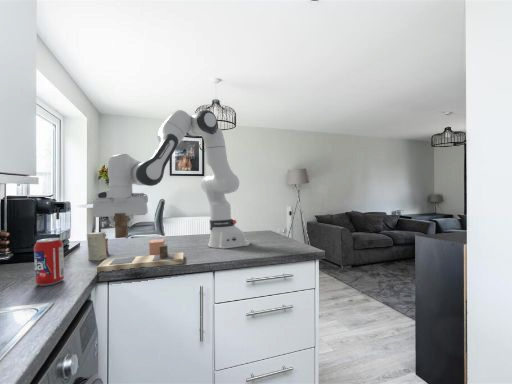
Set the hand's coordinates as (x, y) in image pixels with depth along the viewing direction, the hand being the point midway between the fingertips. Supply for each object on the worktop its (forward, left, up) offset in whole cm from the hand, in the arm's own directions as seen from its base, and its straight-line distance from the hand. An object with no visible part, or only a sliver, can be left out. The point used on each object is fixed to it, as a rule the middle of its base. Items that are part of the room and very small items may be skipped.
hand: (121, 227), depth 109 cm
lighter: (+16, -26, -16) cm, 35 cm away
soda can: (+20, +14, -16) cm, 29 cm away
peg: (0, 0, -4) cm, 4 cm away
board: (-8, 0, -16) cm, 18 cm away
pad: (0, 0, -14) cm, 14 cm away
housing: (-12, -13, -16) cm, 24 cm away
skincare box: (+14, -16, -16) cm, 27 cm away
